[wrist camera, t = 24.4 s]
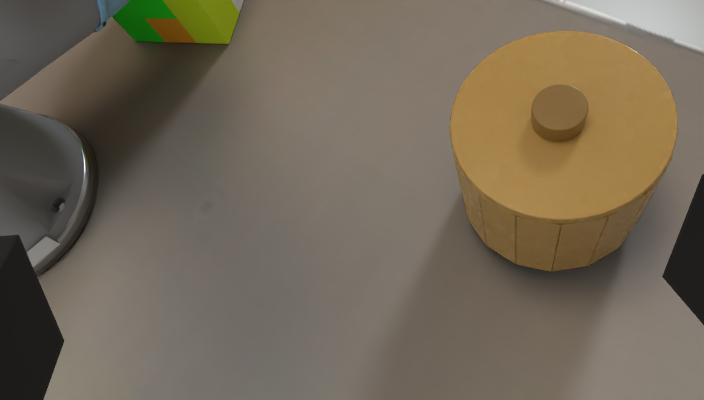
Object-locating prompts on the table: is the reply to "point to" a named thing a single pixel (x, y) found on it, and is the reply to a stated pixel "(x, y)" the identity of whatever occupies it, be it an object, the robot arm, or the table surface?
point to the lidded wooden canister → (561, 146)
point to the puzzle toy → (180, 20)
